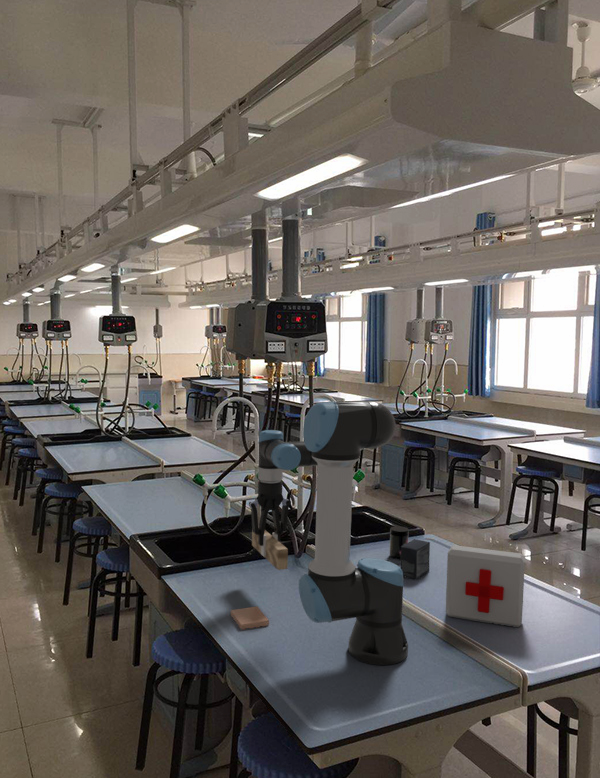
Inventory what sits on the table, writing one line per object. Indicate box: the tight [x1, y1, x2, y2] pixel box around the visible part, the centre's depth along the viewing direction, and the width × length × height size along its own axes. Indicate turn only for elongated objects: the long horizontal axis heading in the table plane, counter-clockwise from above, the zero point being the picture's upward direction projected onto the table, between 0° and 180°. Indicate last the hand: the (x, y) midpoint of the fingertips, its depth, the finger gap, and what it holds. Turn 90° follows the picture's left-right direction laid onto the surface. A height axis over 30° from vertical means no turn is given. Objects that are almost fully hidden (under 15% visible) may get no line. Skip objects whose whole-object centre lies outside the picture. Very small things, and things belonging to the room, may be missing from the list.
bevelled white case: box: [445, 544, 526, 628], centre depth 189 cm, size 21×8×20 cm, turn 70°
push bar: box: [251, 526, 289, 571], centre depth 205 cm, size 24×3×6 cm, turn 23°
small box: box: [400, 538, 431, 580], centre depth 225 cm, size 11×6×10 cm, turn 144°
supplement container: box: [389, 525, 410, 560], centre depth 243 cm, size 7×7×10 cm
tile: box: [230, 606, 270, 630], centre depth 186 cm, size 2×8×10 cm
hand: (269, 554), depth 205 cm, fingers closed on push bar, 3 cm apart
